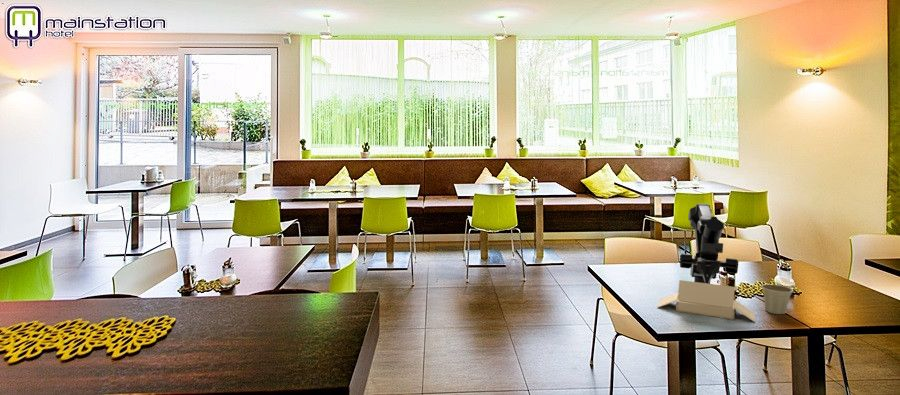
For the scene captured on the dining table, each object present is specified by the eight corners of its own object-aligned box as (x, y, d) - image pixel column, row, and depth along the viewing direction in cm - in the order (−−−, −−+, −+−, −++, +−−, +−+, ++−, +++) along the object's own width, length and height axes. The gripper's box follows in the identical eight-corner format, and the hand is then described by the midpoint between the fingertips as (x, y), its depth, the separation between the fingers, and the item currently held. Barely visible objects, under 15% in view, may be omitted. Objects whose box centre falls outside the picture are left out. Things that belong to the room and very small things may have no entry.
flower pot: (796, 317, 179) (798, 292, 178) (765, 315, 181) (767, 290, 180) (784, 308, 188) (786, 285, 187) (755, 306, 190) (757, 283, 189)
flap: (677, 300, 183) (679, 280, 184) (733, 308, 175) (734, 286, 176) (677, 300, 182) (679, 280, 183) (733, 308, 175) (734, 286, 175)
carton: (661, 296, 200) (662, 287, 200) (753, 309, 186) (753, 299, 186) (657, 308, 187) (657, 297, 186) (755, 322, 173) (756, 311, 172)
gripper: (681, 231, 191) (677, 267, 183) (740, 236, 183) (738, 274, 174) (682, 249, 199) (678, 284, 190) (738, 254, 190) (736, 291, 182)
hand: (706, 283), depth 184 cm, fingers closed
